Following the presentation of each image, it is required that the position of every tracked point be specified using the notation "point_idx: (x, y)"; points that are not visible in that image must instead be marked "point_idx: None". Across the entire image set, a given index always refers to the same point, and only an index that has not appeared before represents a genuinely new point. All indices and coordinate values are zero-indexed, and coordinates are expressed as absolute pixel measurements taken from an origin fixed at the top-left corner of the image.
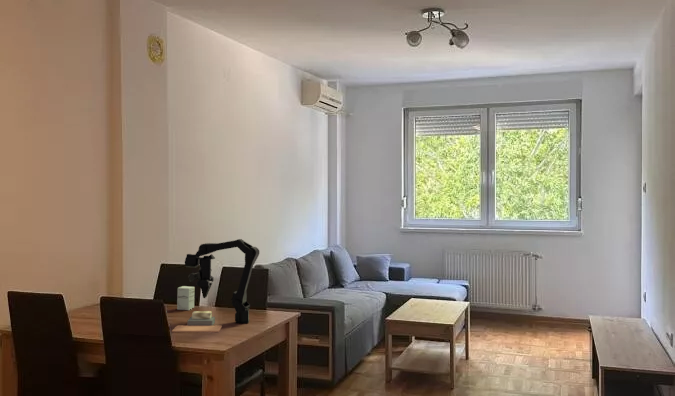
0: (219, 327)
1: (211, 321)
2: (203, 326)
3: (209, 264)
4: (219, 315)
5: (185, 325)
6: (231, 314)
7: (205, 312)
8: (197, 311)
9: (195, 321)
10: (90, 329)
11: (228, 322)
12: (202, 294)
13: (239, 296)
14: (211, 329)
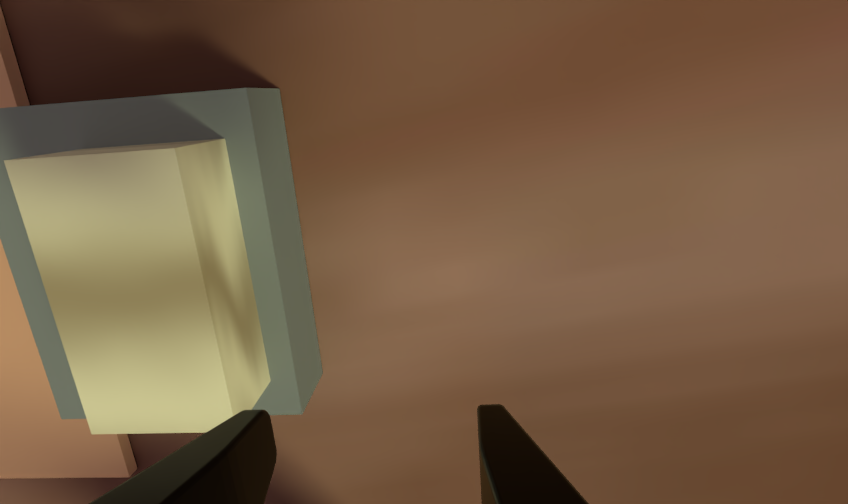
0: (38, 468)
1: (67, 409)
2: None
3: None
4: (773, 353)
5: (5, 84)
6: (826, 476)
7: (113, 363)
8: (160, 220)
9: (5, 223)
10: None
11: (352, 497)
12: (139, 474)
13: None
14: None
